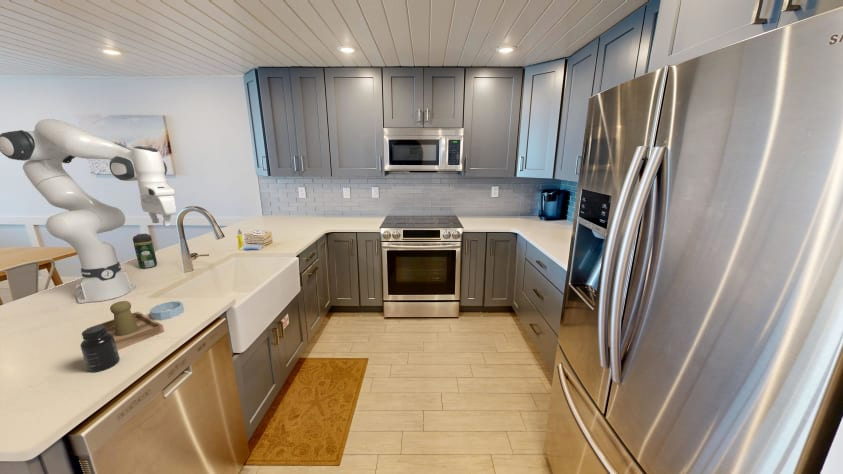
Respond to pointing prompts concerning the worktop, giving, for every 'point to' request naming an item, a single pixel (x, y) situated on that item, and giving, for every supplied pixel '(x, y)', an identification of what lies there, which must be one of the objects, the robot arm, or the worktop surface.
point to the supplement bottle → (99, 349)
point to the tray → (144, 331)
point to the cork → (123, 318)
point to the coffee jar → (144, 251)
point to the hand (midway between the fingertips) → (161, 224)
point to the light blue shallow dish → (176, 310)
